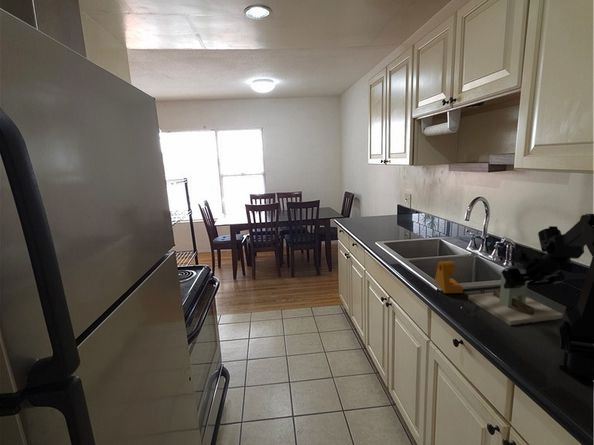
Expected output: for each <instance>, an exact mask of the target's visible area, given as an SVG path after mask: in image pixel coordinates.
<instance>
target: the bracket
mask: <svg viewBox="0 0 594 445" xmlns="http://www.w3.org/2000/svg"><path fill="white" fill-rule="evenodd" d="M455 272H456V266H455V263H454V261H453V260H445V261H443V260H441V261H438V264H437V268H436V274H435V279H434V283H435V282H436V283H437V284H438V285H439V286H440V287H441V288H442V291H443V292H442V293H444V294H463V292H464V288H463V286H462V285H461V284H460V283H459V282H458V281H456V279H454V278H451V277H450V276H451V275H453V276H454V275H455ZM436 283H435V284H436Z"/></svg>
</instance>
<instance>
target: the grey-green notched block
mask: <svg viewBox="0 0 594 445" xmlns="http://www.w3.org/2000/svg"><path fill="white" fill-rule="evenodd" d="M500 276H501V277H500V278H501V279H500V289H499V291H500V300H499V303H501V304H503V305H504V306H506V307H508V308H509V307H511V304H512V296H513V298H514V299H516V300H518V301H520V302H522V303H524V304H525V300H526V297H527V288H528V281H525V285H524V286H522V287H521V288H511V289H505V288H504V284H505V282H506V280H505V278H504V276H503V274H501V275H500Z"/></svg>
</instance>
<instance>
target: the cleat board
mask: <svg viewBox="0 0 594 445" xmlns="http://www.w3.org/2000/svg"><path fill="white" fill-rule="evenodd" d="M467 297H468V298H467V299H468V300H469V301H470V302H472V303H474V304H475V305H477V306H478V307H480V308H482V309H483V310H485V311H486V312H488V313H490V314H492V315H493V316H495V317H496V318H497V319H499V320H501V321H503V322H504V323H505V324H507V325H509V326H513V325H515V326H516V325H522V324H521V323H523V324H529V323H530V322H531V323H536V322H537V323H538V322H546V321H553V320H559V319H562V320H563V318H562V317H563V316H564V313H561V312H559V311H557V310H554V309H552V308H550V307H549V306H547V305H545V304H543V303H541V302H538V301H536V300H534V299H532V298H531V297H528V296H526V300H525V304H524V303H522V302H520V301H518V300H516V299H514V298H513V296H512V304H511V307H509V308H508V307H506V306H504V305H503V304H501V303H499V300H500V289H494V290H493V292H489V293H488V292H487V293H479V294H470V295H469V294H468V296H467Z"/></svg>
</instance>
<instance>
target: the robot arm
mask: <svg viewBox="0 0 594 445" xmlns="http://www.w3.org/2000/svg"><path fill="white" fill-rule="evenodd" d="M579 218H580V219H579V221H578V222H576V224H574V225H572V227H571V228H570V229H569V230H567V231H566V232H565V233H563V234H562V231H561V230H560V229H559V228H558V226H556V225H555V226H548V228H544V229H542V230H540V231H538V232H537V236H538V240H539V244H540V248H541V251H542V253H546V254H544V255H543V256H542V255H540V254H539V253H538V252H537V251H536V250H535V249H534V248H531V247H524V248H523V247H522V248H520V249H517V250H515V251H514V252H513V255H512V256H513V258H514V259H515V260H516V261H517V262H521V263H523V265H522V267H523V269H524V270H525V273H521V271H520V270H519V268H518V267H516V266H513V267H506V268H504V269H502V270H501V272H500V273H501V275H503V276H504V278H505V280H506V282H505V284H504V288H505V289H511V288H521V287H522V286H524V285H525V281H527V286H529V287H535V286H549V285H556V284H561V283H563V282H564V281H565V279H566V276H565V275H564V273H563V272H567V273H571V274H572V272H573V263H572V259H574V260H577V259H579V258H581V256H582V255H584V253H585V246H586V248H587V249H588V251H589V253H590V255H591V257H592V258H591V261H590V264H589V268H588V270H587V273H586V276H585V280H584V283H583V285H582V286H583V287H582V289H581V291H580V295H579V299H578V302H577V305H576V306H566V308H565V310H564V312H563V315H562V320H561V321H560V322H559V325H558V333H559V348H560V349H561V350H563V351H564V354H563V360H562V361H563V362H562V363H563V364H559V365H558V369H560V370H561V371H563V372H564V373H566V374H567V375H569V376H571V377H572V378H573V379H575V380H577V381H578V382H580V383H581V384H583V385H586V384H591V383H590V382H592V381H593V380H594V213H586V214H582V215H581V216H580V217H579Z"/></svg>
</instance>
